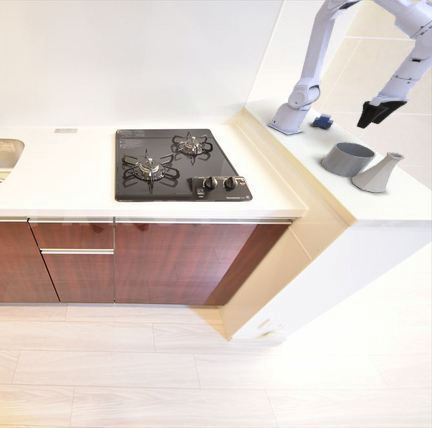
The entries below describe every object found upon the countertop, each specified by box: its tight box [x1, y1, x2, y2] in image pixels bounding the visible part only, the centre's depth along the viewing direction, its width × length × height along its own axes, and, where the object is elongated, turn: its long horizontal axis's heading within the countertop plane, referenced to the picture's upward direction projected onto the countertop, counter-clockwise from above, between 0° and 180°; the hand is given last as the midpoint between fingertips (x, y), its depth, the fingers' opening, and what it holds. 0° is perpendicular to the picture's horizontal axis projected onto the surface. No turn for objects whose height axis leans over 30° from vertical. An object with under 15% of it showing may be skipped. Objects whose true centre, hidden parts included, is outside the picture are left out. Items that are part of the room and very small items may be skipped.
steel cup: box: [321, 141, 377, 178], centre depth 70 cm, size 10×10×6 cm
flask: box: [351, 151, 405, 193], centre depth 63 cm, size 7×7×10 cm
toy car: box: [311, 113, 334, 131], centre depth 93 cm, size 6×4×4 cm, turn 50°
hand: (367, 125), depth 73 cm, fingers open, 7 cm apart
